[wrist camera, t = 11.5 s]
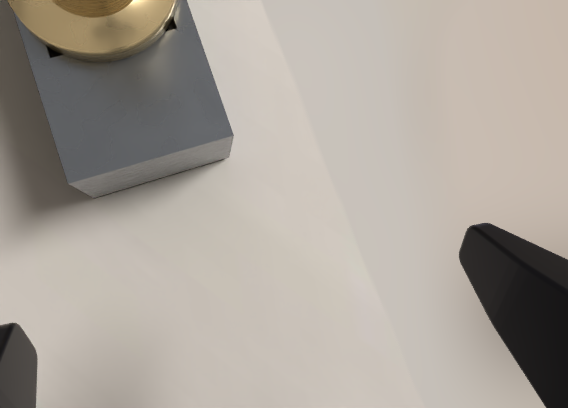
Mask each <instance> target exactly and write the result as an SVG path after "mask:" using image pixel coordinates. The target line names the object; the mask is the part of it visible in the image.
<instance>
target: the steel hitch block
mask: <svg viewBox="0 0 568 408" xmlns="http://www.w3.org/2000/svg"><path fill="white" fill-rule="evenodd" d="M13 12H14V11H13ZM14 15H15V18H16V21H17V24H18V28H19V31H20V34H21V37H22V40H23V43H24V46H25V50H26V53H27V56H28V59H29V62H30V65H31V69H32V72H33V75H34V78H35V81H36V84H37V88H38V91H39V94H40V97H41V100H42V103H43V106H44V110H45V113H46V116H47V119H48V122H49V125H50V129H51V132H52V135H53V138H54V141H55V144H56V148H57V151H58V154H59V157H60V160H61V163H62V166H63V170H64V173H65V176H66V179H67V182H68V184H69V185H71V186H73V187H75V188H76V189H78V190H80V191H82V192H84V193H85V194H87V195H89V196H91V197H93V198H96V197H99V196H103V195H106V194H109V193H113V192H116V191H119V190H123V189H126V188H129V187H132V186H136V185H139V184H142V183H146V182H149V181H152V180H156V179H159V178H162V177H166V176H169V175H172V174H175V173H179V172H182V171H185V170H189V169H192V168H195V167H199V166H202V165H205V164H209V163H212V162H215V161H218V160H222V159H225V158H228V157H229V155H230V150H231V146H232V141H233V136H234V135H233V132H232V129H231V127H230V124H229V121H228V118H227V115H226V112H225V109H224V106H223V104H222V101H221V98H220V95H219V92H218V89H217V86H216V83H215V80H214V78H213V75H212V72H211V69H210V66H209V63H208V60H207V57H206V55H205V52H204V49H203V46H202V43H201V40H200V37H199V34H198V31H197V29H196V26H195V23H194V20H193V17H192V14H191V11H190V8H189V6H188V3H187V0H178V1H177V6H176V11H175V14H174V16H173V19H172V21H171V23H170V25H169V26H168V27H169V30H170V31H165V32H164V33H163V35H162V36H161V37H160V38H159V39H158V40H157V41H156V42H155V43H153V44H152V45H151V46H150V47H148V48H147V49H145V50H143V51H141V52H140V53H138V54H135V55H133V56H130V57H128V58H124V59H120V60H115V61H108V62H93V61H84V60H79V59H74V58H71V57H68V56H65V55H63V54H60V53H58V52H56V51H54V50H52V49H51V48H49V47H48V46H46V45H44V44H43V43H42V42H41V41H39V40H38V39H37V38H36V37H35V36H34V35H33V34H32V33H31V32H30V31H29V30H28V29H27V28H26V26H25V25H24V24H23V23H22V21H21V20H20V19H19V17H18V16H17V15H16V13H15V12H14Z"/></svg>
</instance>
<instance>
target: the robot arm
mask: <svg viewBox="0 0 568 408" xmlns="http://www.w3.org/2000/svg"><path fill="white" fill-rule="evenodd" d="M459 259H460V262H461V265H462V266H463V268H464V271H465V273H466V275H467V276H468V278H469V280H470V282H471V284H472V286H473V288H474V290H475V292H476V294H477V296H478V298H479V299H480V302H481V303H482V306H483V307H484V309H485V312H486V313H487V315H488V317H489V319H490V321H491V322H492V324H493V326H494V328H495V329H496V331H497V332H498V334H499V335H500V337H501V339H502V340H503V342H504V343H505V345H506V346H507V348H508V349H509V351H510V353H511V354H512V355H513V357H514V359H515V360H516V362H517V363H518V365H519V366H520V368H521V370H522V371H523V373H524V374H525V376H526V377H527V379H528V380H529V382H530V383H531V385H532V387H533V388H534V390H535V391H536V393H537V394H538V396H539V397H540V399H541V400H542V402H543V403H544V405H545V406H546V408H568V260H567V259H565V258H563V257H561V256H559V255H556V254H554V253H552V252H550V251H548V250H546V249H544V248H541V247H539V246H537V245H535V244H533V243H531V242H529V241H526V240H524V239H522V238H520V237H518V236H516V235H514V234H512V233H509V232H507V231H505V230H503V229H500V228H498V227H496V226H494V225H492V224H490V223H482V224H477V225H472V226H470V227H469V228H468V229H467V231H466V233H465V236H464V239H463V242H462V245H461V248H460V251H459ZM36 387H37V353H36V350H35V348H34V346H33V344H32V343H31V341H30V340H29V338H28V337H27V335H26V334H25V332H24V331H23V329H22V328H21V327H20V325H18V324H17V323H9V324H4V325H0V408H36Z"/></svg>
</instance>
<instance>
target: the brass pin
mask: <svg viewBox="0 0 568 408" xmlns="http://www.w3.org/2000/svg"><path fill="white" fill-rule="evenodd" d="M7 1H8V3H9V5H10V6H11V8H12V9H13V11H14V12H15V13H16V15H17V16H18V17H19V19H20V20H21V21H22V23H23V24H24V25H25V26H26V28H27V29H28V30H29V31H30V32H31V33H32V34H33V35H34V36H35V37H36V38H37V39H38V40H39V41H41V42H42V43H43V44H44V45H46V46H48V47H49V48H51V49H52V50H54V51H56V52H58V53H60V54H63V55H65V56H68V57H71V58H74V59H79V60H84V61H93V62H108V61H115V60H120V59H124V58H128V57H130V56H133V55H135V54H138V53H140V52H141V51H143V50H145V49H147V48H148V47H150V46H151V45H152V44H153V43H155V42H156V41H157V40H158V39H159V38H160V37H161V36H162V35H163V33H164V32H165V31H166V29H167V28H168V26H169V25H170V23H171V21H172V19H173V16H174V14H175V11H176V6H177V1H178V0H7Z"/></svg>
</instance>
